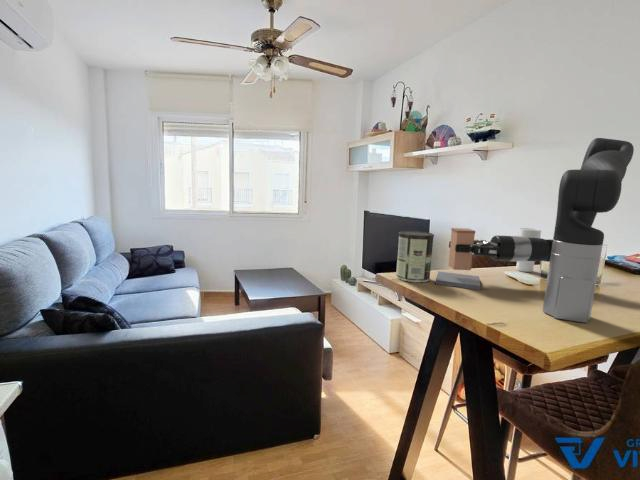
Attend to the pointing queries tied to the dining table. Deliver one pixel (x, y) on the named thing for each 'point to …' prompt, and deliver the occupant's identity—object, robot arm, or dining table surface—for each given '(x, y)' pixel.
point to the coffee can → (414, 256)
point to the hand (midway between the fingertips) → (452, 246)
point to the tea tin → (461, 258)
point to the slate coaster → (458, 280)
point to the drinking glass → (529, 233)
